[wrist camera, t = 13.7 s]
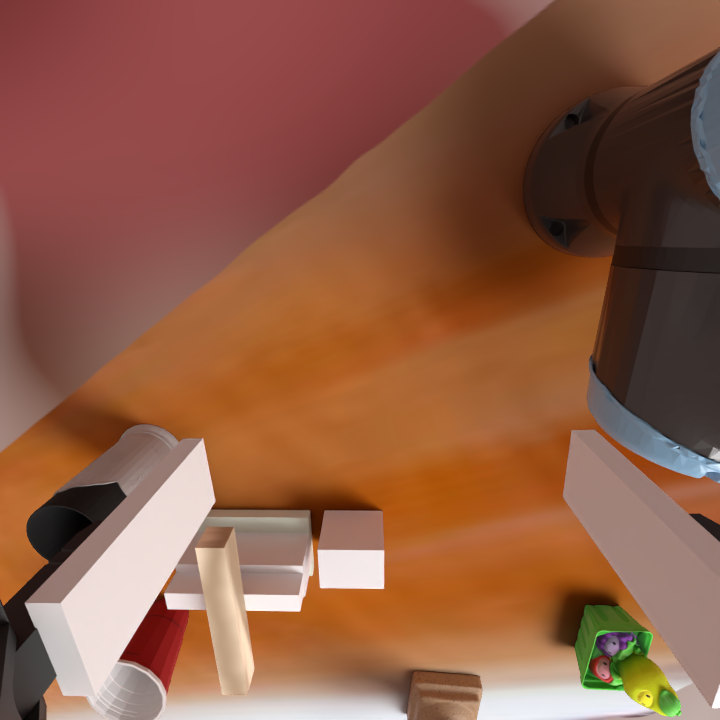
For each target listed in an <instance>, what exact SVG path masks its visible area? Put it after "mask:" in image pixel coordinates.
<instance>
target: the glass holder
mask: <svg viewBox="0 0 720 720" xmlns="http://www.w3.org/2000/svg"><path fill="white" fill-rule="evenodd" d="M178 443H179V442H178V440H177V439H176V438H175V437H174V436H173V435H172V434H171V433H169V432H168V431H166V430H165V429H163V428H161V427H158V426H155V425H150V424H140V425H136V426H133V427H131V428H129V429H128V430H126V431H125V432H124V433H123V434H122V436H121V438H120V440H119V441H118V442H117V443H116V444H115V445H113V446H112V447H111V448H110V449H108V450H107V451H106V452H105V453H104V454H102V455H101V456H100V457H99V458H97V459H96V460H95V461H94V462H92V463H91V464H90V465H89V466H87V467H86V468H85V469H84V470H83V471H81V472H80V473H79V474H78V475H76V476H75V477H74V478H73V479H71V480H70V481H69V482H68V483H66V484H65V485H64V486H63V487H62V488H60V489H59V490H58V491H57V492H55V494H54V495H53V497H52V498H51V499H50V500H48V501H47V502H46V503H45V504H44V505H42V506H41V507H40V508H39V509H37V510H36V511H35V512H34V513H33V514H32V515H31V516H30V518H29V520H28V522H27V536H28V539H29V541H30V543H31V545H32V546H33V548H34V549H35V550H36V551H37V552H38V553H39V554H40V555H41V556H42V557H44V558H45V559H47V560H48V561H50V560H51V559H52V558H53V557H54V556H55V555H56V554H57V553H58V552H61V550H62V548H63V547H64V546H65V545H66V544H67V543H68V542H69V541H70V540H71V539H72V538H73V537H74V536H75V535H76V534H77V533H78V532H80V531H82V530H83V529H85V528H86V527H88V526H89V525H91V524H92V523H94V522H95V521H97V520H105V519H106V518H107V517H108V516H109V515H110V514H111V513H112V512H113V511H114V510H115V509H116V508H117V507H118V506H119V505H120V503H121V502H122V501H123V500H124V499H125V498H126V497H127V496H128V495H129V494H130V493H131V492H132V491H133V490H134V489H135V488H136V487H137V486H138V485H139V484H140V483H141V482H142V481H143V480H144V479H145V478H146V476H147V475H148V474H149V473H150V472H151V471H152V470H153V469H154V468H155V467H156V466H157V465H158V464H159V463H160V462H161V461H162V460H163V459H164V458H165V457H166V456H167V455H168V454H169V453H170V452H171V451H172V449H173V448H174V447H175V446H176V445H177V444H178Z"/></svg>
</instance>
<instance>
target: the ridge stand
mask: <svg viewBox="0 0 720 720" xmlns="http://www.w3.org/2000/svg"><path fill="white" fill-rule="evenodd" d="M207 527H234V530H235V537H236V544H237V551H238V558H239V565H240V572H241V579H242V586H243V593H244V600H245V607H246V611H300V610H301V604H302V599H303V597H305V594H306V589H307V583H308V578H309V576H313V570H314V559H313V544H312V530H311V515H310V510H210V511H209V513H208V514H207V516H206V518H205V519H204V521H203V523H202V524H201V526H200V527H199V529H198V531H197V532H196V534H195V536H194V537H193V539H192V540H191V542H190V544H189V545H188V547H187V549H186V550H185V552H184V553H183V555H182V557H181V558H180V560H179V562H178V563H177V565H176V567H175V568H176V574H175V575H174V577H173V579H172V580H171V582H170V584H169V586H168V587H167V589H166V591H165V592H164V596H165V600H166V604H167V609H183V610H206V605H205V599H204V594H203V589H202V583H201V578H200V572H199V567H198V562H197V556H196V551H195V547H196V545H197V543H198V542H199V540H200V538H201V536H202V535H203V533H204V531H205V529H206V528H207Z"/></svg>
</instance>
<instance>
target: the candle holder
mask: <svg viewBox="0 0 720 720" xmlns="http://www.w3.org/2000/svg"><path fill="white" fill-rule="evenodd" d="M481 697H482V685H481V681H480V677H479V676H475V675H466V674H454V673H441V672H429V671H414V672H413V676H412V681H411V688H410V694H409V700H408V706H407V720H476V719H477V715H478V710H479V705H480V701H481Z"/></svg>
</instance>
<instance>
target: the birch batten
mask: <svg viewBox="0 0 720 720" xmlns="http://www.w3.org/2000/svg"><path fill="white" fill-rule="evenodd" d="M195 551H196V556H197V562H198V567H199V572H200V578H201V583H202V589H203V594H204V599H205V605H206V610H207V615H208V621H209V626H210V632H211V637H212V642H213V648H214V653H215V658H216V664H217V669H218V674H219V680H220V685H221V691H222V695H247V694H248V690H249V686H250V683H251V679H252V675H253V672H254V662H253V655H252V649H251V642H250V635H249V628H248V621H247V614H246V607H245V600H244V593H243V586H242V579H241V572H240V565H239V558H238V551H237V544H236V537H235V530H234V527H207V528H206V529H205V531H204V533H203V535H202V536H201V538H200V540H199V542H198V543H197V545H196V547H195Z"/></svg>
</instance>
